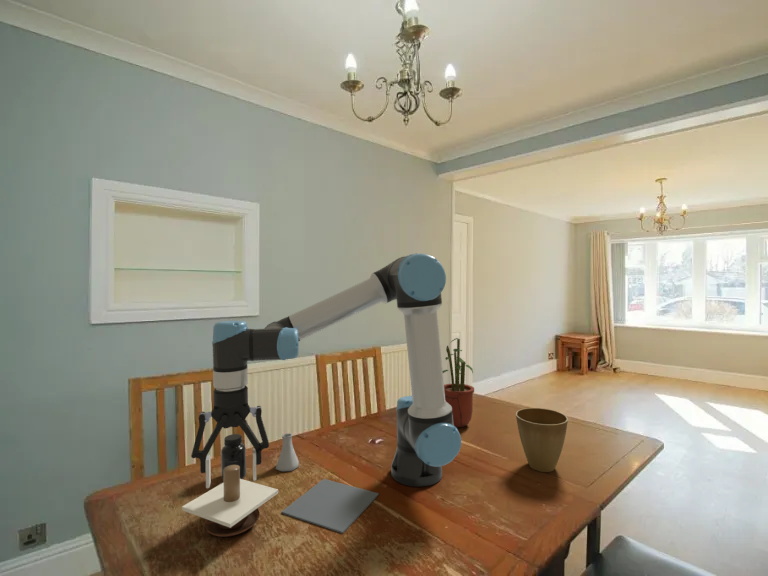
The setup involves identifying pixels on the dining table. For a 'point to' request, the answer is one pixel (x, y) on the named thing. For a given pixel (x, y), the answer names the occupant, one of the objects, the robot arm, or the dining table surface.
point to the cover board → (230, 508)
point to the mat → (331, 505)
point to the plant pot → (542, 436)
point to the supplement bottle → (234, 454)
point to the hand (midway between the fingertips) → (231, 481)
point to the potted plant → (459, 390)
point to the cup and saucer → (235, 529)
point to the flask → (287, 455)
